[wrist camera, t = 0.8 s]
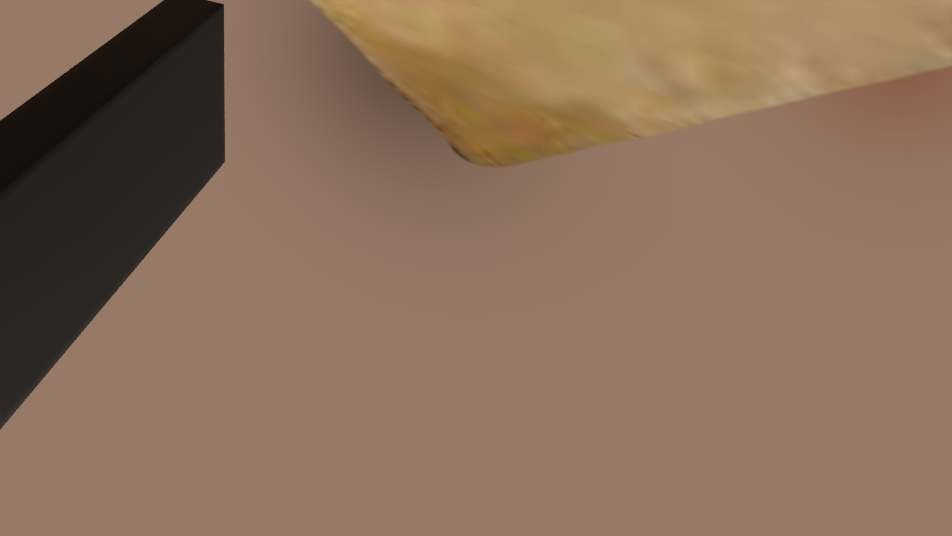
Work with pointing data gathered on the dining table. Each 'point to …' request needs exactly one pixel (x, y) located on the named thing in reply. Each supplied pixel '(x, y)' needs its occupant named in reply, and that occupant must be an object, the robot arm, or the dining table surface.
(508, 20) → the dining table surface
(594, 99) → the dining table surface
